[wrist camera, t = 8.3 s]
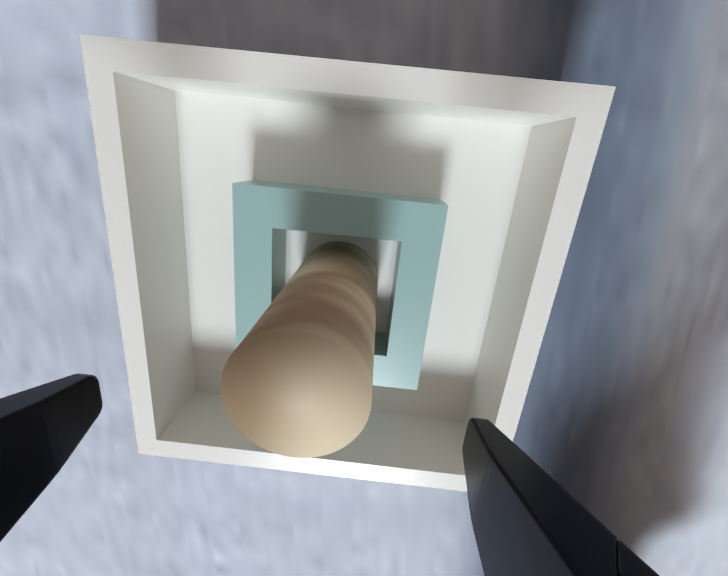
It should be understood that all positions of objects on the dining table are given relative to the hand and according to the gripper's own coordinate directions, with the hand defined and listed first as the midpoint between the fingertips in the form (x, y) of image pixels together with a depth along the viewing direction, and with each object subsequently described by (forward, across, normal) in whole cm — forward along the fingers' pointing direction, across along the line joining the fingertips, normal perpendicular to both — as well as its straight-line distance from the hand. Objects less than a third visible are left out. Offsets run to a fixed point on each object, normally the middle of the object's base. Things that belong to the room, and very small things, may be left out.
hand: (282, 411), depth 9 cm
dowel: (+11, 0, 0) cm, 11 cm away
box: (+11, 0, 0) cm, 11 cm away
